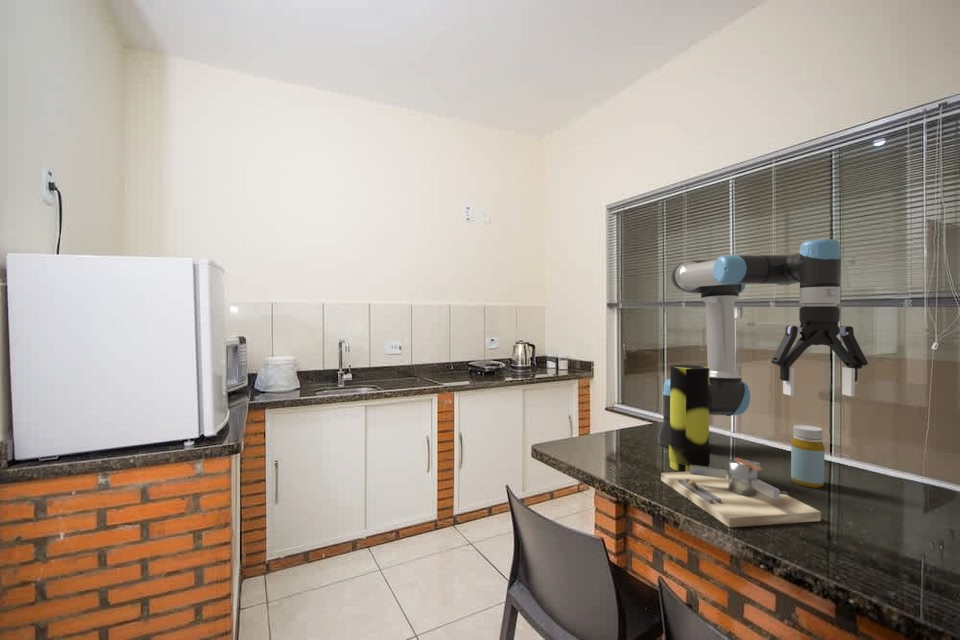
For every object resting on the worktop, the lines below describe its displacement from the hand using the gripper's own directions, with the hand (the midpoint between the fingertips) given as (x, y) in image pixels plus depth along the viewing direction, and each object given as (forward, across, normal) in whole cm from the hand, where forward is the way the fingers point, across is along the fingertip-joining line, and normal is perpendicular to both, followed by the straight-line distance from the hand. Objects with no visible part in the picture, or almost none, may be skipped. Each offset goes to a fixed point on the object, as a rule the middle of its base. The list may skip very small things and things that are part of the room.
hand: (818, 395), depth 101 cm
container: (+26, -20, +22) cm, 40 cm away
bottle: (+26, +7, +13) cm, 30 cm away
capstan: (+24, -16, 0) cm, 29 cm away
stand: (+26, -19, +2) cm, 32 cm away
